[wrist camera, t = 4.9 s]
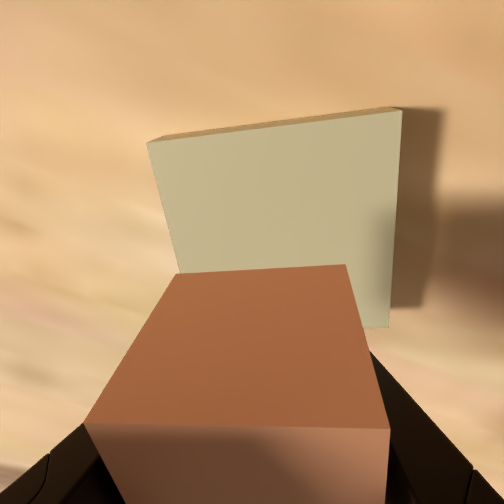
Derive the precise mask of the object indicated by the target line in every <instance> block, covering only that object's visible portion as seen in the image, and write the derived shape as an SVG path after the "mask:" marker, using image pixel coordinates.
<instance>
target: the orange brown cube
mask: <svg viewBox="0 0 504 504" xmlns="http://www.w3.org/2000/svg"><path fill="white" fill-rule="evenodd" d="M83 424H84V425H85V427H86V429H87V431H88V433H89V435H90V437H91V439H92V441H93V443H94V444H95V446H96V448H97V450H98V452H99V454H100V456H101V458H102V460H103V461H104V463H105V465H106V467H107V469H108V471H109V473H110V475H111V477H112V479H113V480H114V482H115V484H116V486H117V488H118V490H119V492H120V494H121V496H122V497H123V499H124V501H125V503H126V504H385V493H386V481H387V468H388V455H389V442H390V425H389V422H388V418H387V414H386V411H385V407H384V403H383V400H382V396H381V392H380V389H379V385H378V381H377V378H376V374H375V370H374V367H373V363H372V359H371V356H370V352H369V348H368V345H367V341H366V337H365V334H364V330H363V326H362V323H361V319H360V315H359V312H358V308H357V304H356V301H355V297H354V293H353V290H352V286H351V282H350V279H349V275H348V271H347V268H346V264H340V265H323V266H305V267H287V268H270V269H252V270H235V271H217V272H200V273H182V274H175V276H174V278H173V279H172V281H171V283H170V284H169V286H168V287H167V289H166V291H165V292H164V294H163V295H162V297H161V299H160V300H159V302H158V303H157V305H156V307H155V308H154V310H153V311H152V313H151V315H150V316H149V318H148V319H147V321H146V323H145V324H144V326H143V327H142V329H141V331H140V332H139V334H138V335H137V337H136V339H135V340H134V342H133V343H132V345H131V347H130V348H129V350H128V351H127V353H126V355H125V356H124V358H123V360H122V361H121V363H120V364H119V366H118V368H117V369H116V371H115V372H114V374H113V376H112V377H111V379H110V380H109V382H108V384H107V385H106V387H105V388H104V390H103V392H102V393H101V395H100V396H99V398H98V400H97V401H96V403H95V404H94V406H93V408H92V409H91V411H90V412H89V414H88V416H87V417H86V419H85V420H84V422H83Z"/></svg>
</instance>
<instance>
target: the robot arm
mask: <svg viewBox="0 0 504 504" xmlns="http://www.w3.org/2000/svg"><path fill="white" fill-rule="evenodd" d="M369 352H370V351H369ZM370 356H371V359H372V363H373V367H374V370H375V374H376V378H377V381H378V385H379V389H380V392H381V396H382V400H383V403H384V407H385V411H386V414H387V418H388V422H389V425H390V442H389V455H388V468H387V481H386V493H385V504H504V499H503V498H502V497H501V496H500V495H499V494H498V493H497V492H496V491H495V490H494V489H493V488H492V486H491V485H490V484H489V483H488V482H487V481H486V480H485V479H484V477H483V476H482V475H481V474H480V473H479V472H478V471H477V470H473V465H472V464H471V463H470V462H469V461H468V460H467V459H466V458H465V456H464V455H463V454H462V453H461V452H460V451H459V450H458V449H457V448H456V446H455V445H454V444H453V443H452V442H451V441H450V440H449V439H448V437H447V436H446V435H445V434H444V433H443V432H442V431H441V430H440V429H439V427H438V426H437V425H436V424H435V423H434V422H433V421H432V420H431V419H430V417H429V416H428V415H427V414H426V413H425V412H424V411H423V410H422V409H421V407H420V406H419V405H418V404H417V403H416V402H415V401H414V400H413V398H412V397H411V396H410V395H409V394H408V393H407V392H406V391H405V390H404V388H403V387H402V386H401V385H400V384H399V383H398V382H397V381H396V380H395V378H394V377H393V376H392V375H391V374H390V373H389V372H388V371H387V370H386V368H385V367H384V366H383V365H382V364H381V363H380V362H379V361H378V360H377V358H376V357H375V356H374V355H373V354H372V353H371V352H370ZM0 504H126V503H125V501H124V499H123V497H122V496H121V494H120V492H119V490H118V488H117V486H116V484H115V482H114V480H113V479H112V477H111V475H110V473H109V471H108V469H107V467H106V465H105V463H104V461H103V460H102V458H101V456H100V454H99V452H98V450H97V448H96V446H95V444H94V443H93V441H92V439H91V437H90V435H89V433H88V431H87V429H86V427H85V425H84V424H83V423H82V424H81V425H80V426H79V427H77V428H76V429H75V430H74V431H73V432H72V433H71V434H69V435H68V436H67V437H66V438H65V439H64V440H62V441H61V442H60V443H59V444H58V445H57V446H55V447H54V448H53V449H52V450H51V451H50V454H49V453H48V454H46V455H45V456H44V457H43V458H41V459H40V460H39V461H38V462H37V463H36V464H35V465H33V466H32V467H31V468H30V469H29V470H27V471H26V472H25V473H24V474H23V475H21V476H20V477H19V478H18V479H17V480H15V481H14V482H13V483H12V484H11V485H10V486H8V487H7V488H6V489H5V490H3V491H2V492H1V493H0Z"/></svg>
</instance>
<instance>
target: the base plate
mask: <svg viewBox="0 0 504 504" xmlns="http://www.w3.org/2000/svg"><path fill="white" fill-rule="evenodd" d="M401 125H402V110H399V109H395V108H392V107H382V108H375V109H367V110H359V111H351V112H344V113H336V114H328V115H320V116H313V117H305V118H297V119H289V120H282V121H274V122H266V123H258V124H251V125H243V126H235V127H227V128H220V129H212V130H204V131H196V132H189V133H181V134H173V135H166V136H161V137H159V138H157V139H154V140H152V141H149V142H147V143H146V145H147V149H148V153H149V157H150V160H151V164H152V168H153V172H154V176H155V179H156V183H157V187H158V191H159V195H160V198H161V202H162V206H163V210H164V214H165V217H166V221H167V225H168V229H169V233H170V237H171V240H172V244H173V248H174V252H175V256H176V259H177V263H178V267H179V271H180V274H182V273H200V272H217V271H235V270H252V269H270V268H287V267H305V266H323V265H340V264H346V268H347V271H348V275H349V279H350V282H351V286H352V290H353V293H354V297H355V301H356V304H357V308H358V312H359V315H360V319H361V323H362V326H363V328H389V318H390V302H391V286H392V270H393V254H394V238H395V222H396V206H397V190H398V173H399V157H400V141H401Z"/></svg>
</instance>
